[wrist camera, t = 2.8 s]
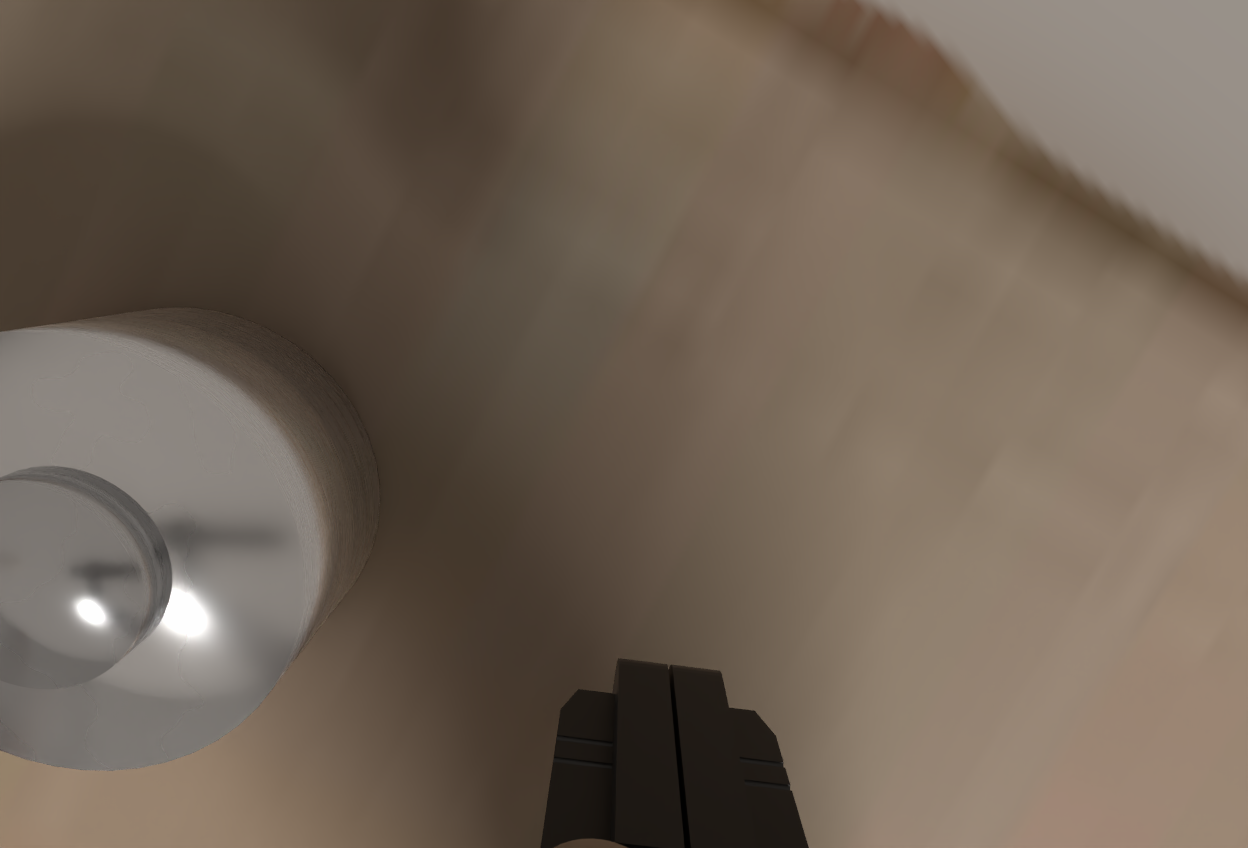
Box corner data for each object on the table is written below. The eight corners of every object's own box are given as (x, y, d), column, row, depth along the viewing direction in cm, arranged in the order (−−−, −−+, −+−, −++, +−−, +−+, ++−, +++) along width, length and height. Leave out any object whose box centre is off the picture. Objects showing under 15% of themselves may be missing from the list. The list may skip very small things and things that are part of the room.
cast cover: (385, 325, 19) (278, 363, 13) (378, 659, 21) (283, 822, 15) (7, 290, 19) (-275, 313, 13) (39, 631, 21) (-192, 786, 15)
